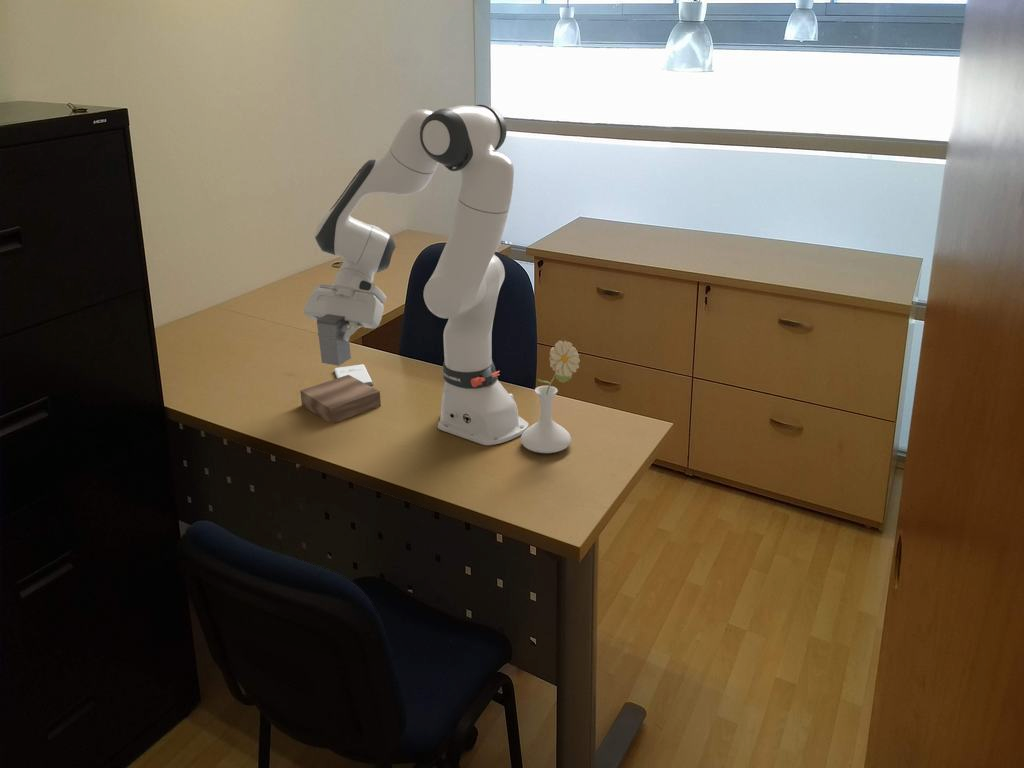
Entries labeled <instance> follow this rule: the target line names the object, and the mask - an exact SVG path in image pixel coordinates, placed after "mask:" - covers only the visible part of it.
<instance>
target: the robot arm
mask: <svg viewBox="0 0 1024 768" xmlns="http://www.w3.org/2000/svg"><path fill="white" fill-rule="evenodd" d="M507 132H508V131H507V124H506V120H505V118H504V117H503V115H502V113H500V111H499V110H497V109H496V108H494V107H492V106H489V105H487V104H486V105H485V104H476V105H463V104H462V105H455V106H450V107H448V108H440V109H438V110H435V111H433V110H431V109H425V108H423V109H422V108H421V109H420V108H419V109H416V110H414V111H412V112H410V114H409V115H408V117H407V118H406V119H405V121H403V124H402V125H401V126H400V128H399V130H398V131H397V133H396V135H395V136H394V139H393V141H392V142H391V144H390V147H389V148H388V150H387V151H386V153H384V154H383V155H381V156H380V157H378V158H376V159H369V160H367V161H366V162H365V163H364V164H363V165H362V166H361V168H360V169H359V170H358V171H357V173H356V174H355V175H354V177H353V178H352V179H351V180H350V182H349V183H348V185H347V187H345V189H344V191H343V192H342V193H341V194H340V196H339V198H338V199H337V201H336V202H335V203H334V204H333V206H332V207H331V208H330V209H329V211H328V212H326V214H325V215H323V217H322V218H321V219H320V221H319V223H318V224H317V227H316V231H315V237H314V238H315V241H316V242H317V245H318V246H319V248H320V250H321V251H322V252H324V253H326V254H330V255H334V256H338V257H340V258H342V259H343V262H342V264H341V265H340V266H339V269H338V271H337V273H336V277H335V278H334V280H333V284H324V283H321V284H319V285H316V286H315V287H314V288H313V290H312V292H311V294H310V295H309V297H308V299H307V300H306V303H305V305H304V307H303V314H304V315H305V316H306V317H307V318H308V319H309V320H312V321H317V319H319V318H321V317H323V316H325V315H327V314H331V315H338V316H345V321H347V325H348V329H347V330H346V331H345V332H342V333H341V336H340V339H341V340H342V341H345V342H348V341H349V342H350V338H351V336H352V335H354V333H356V332H357V331H358V328H359V327H361V328H366V329H372V330H373V329H377V327H379V326H380V323H381V321H382V318H383V314H384V309H385V306H384V303H386V301H387V296H386V294H385V293H384V292H383V291H382V289H380V287H378V286H377V285H376V284H374V277H375V274H376V273H378V274H379V273H380V272H383V271H385V270H387V269H388V268H389V266H390V263H391V260H392V256H393V253H394V251H395V249H396V243H395V241H394V238H393V237H392V235H391V234H389V233H388V232H386V231H385V230H383V229H381V227H378V226H377V225H374V224H370V223H369V224H368V223H366V222H364V221H361V220H359V219H356V218H354V217H353V216H351V215H352V213H353V212H354V210H355V209H356V207H357V206H358V205H359V203H360V202H361V201H362V199H363V198H365V197H367V196H369V195H371V194H385V195H395V196H410V195H415V194H418V193H420V192H422V191H423V190H424V189H425V188H426V187H427V186H428V184H429V183H430V181H431V180H432V178H433V176H435V175H434V174H435V173H436V170H437V169H438V166H439V164H441V165H443V166H444V167H445V168H446V169H448V170H449V171H451V172H458V171H459V172H460V174H461V183H460V184H461V185H460V190H459V192H458V193H459V194H458V198H457V203H456V208H455V212H454V216H453V217H454V218H453V221H452V226H451V229H450V234H449V236H448V237H447V238H448V239H447V240H446V243H445V245H444V248H443V250H442V252H441V254H440V257H439V259H438V262H437V265H436V266H435V269H434V270H433V272H432V274H431V276H430V278H429V279H428V281H427V282H426V284H425V286H424V287H423V288H424V289H423V299H424V303H425V305H426V308H427V309H428V310H429V312H431V313H432V314H433V315H434V316H436V317H438V318H440V319H448V320H447V322H446V324H445V327H444V329H443V335H442V337H443V356H444V361H443V363H442V377H443V381H444V386H443V390H442V394H441V407H440V417H439V420H438V423H437V429H438V430H440V431H443V432H446V433H449V434H451V435H454V436H457V437H460V438H463V439H466V440H468V441H472V442H473V443H477V444H479V445H483V446H493V445H498V444H503V443H505V442H509V441H510V440H514V439H516V438H518V437H521V436H522V433H523V432H524V431H525V430H526V429H527V428H529V427H530V425H529V422H528V421H526V420H525V418H522V417H521V416H519V411H518V406H517V403H516V401H515V397H514V394H512V393H509V392H508V391H507V390H506V389H505V387H504V386H503V385H502V383H501V382H500V381H499V379H498V376H500V372H501V370H498V371H497V370H496V366H495V363H494V361H493V358H492V356H493V355H492V353H493V351H492V350H493V349H492V348H493V347H492V332H493V325H494V318H495V315H496V308H497V304H498V303H497V302H498V297H499V293H500V290H501V287H502V285H503V283H504V281H505V277H506V275H505V274H506V272H505V266H504V264H503V262H502V260H500V258H499V257H498V256H497V255H496V254H495V253H496V251H497V250H498V248H499V247H500V245H501V243H502V239H503V235H504V230H505V226H506V223H507V218H508V214H509V210H510V206H511V201H512V195H513V189H514V174H515V173H514V170H515V169H514V164H513V162H512V161H511V159H510V158H509V157H508V156H506V155H505V154H503V153H502V152H500V151H498V150H499V149H500V148H501V147H502V146H503V144H504V143H505V140H506V137H507ZM317 336H318V337H319V335H318V334H317Z"/></svg>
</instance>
